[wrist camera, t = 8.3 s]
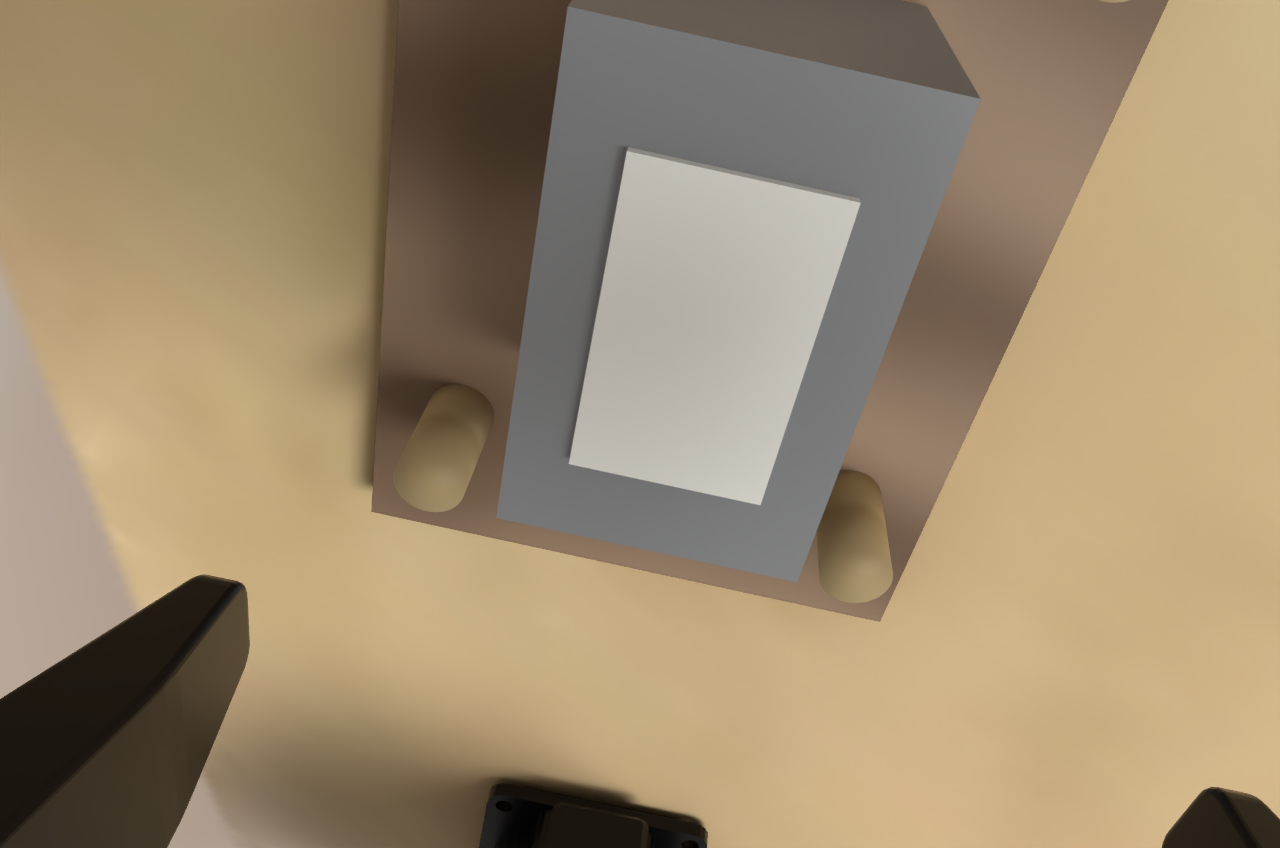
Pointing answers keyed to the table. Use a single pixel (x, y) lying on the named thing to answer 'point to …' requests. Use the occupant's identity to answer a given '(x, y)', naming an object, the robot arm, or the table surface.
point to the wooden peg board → (916, 352)
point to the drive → (722, 265)
